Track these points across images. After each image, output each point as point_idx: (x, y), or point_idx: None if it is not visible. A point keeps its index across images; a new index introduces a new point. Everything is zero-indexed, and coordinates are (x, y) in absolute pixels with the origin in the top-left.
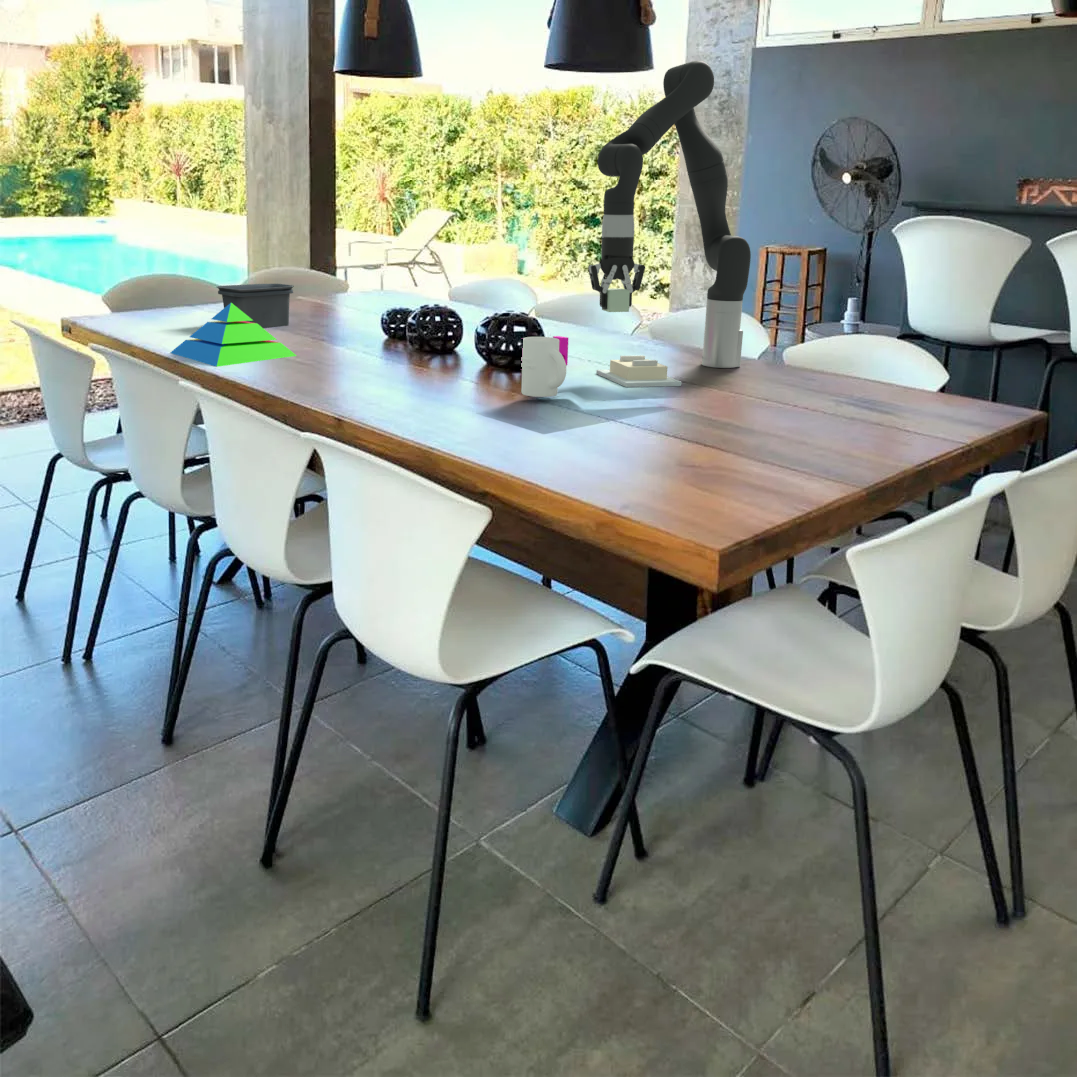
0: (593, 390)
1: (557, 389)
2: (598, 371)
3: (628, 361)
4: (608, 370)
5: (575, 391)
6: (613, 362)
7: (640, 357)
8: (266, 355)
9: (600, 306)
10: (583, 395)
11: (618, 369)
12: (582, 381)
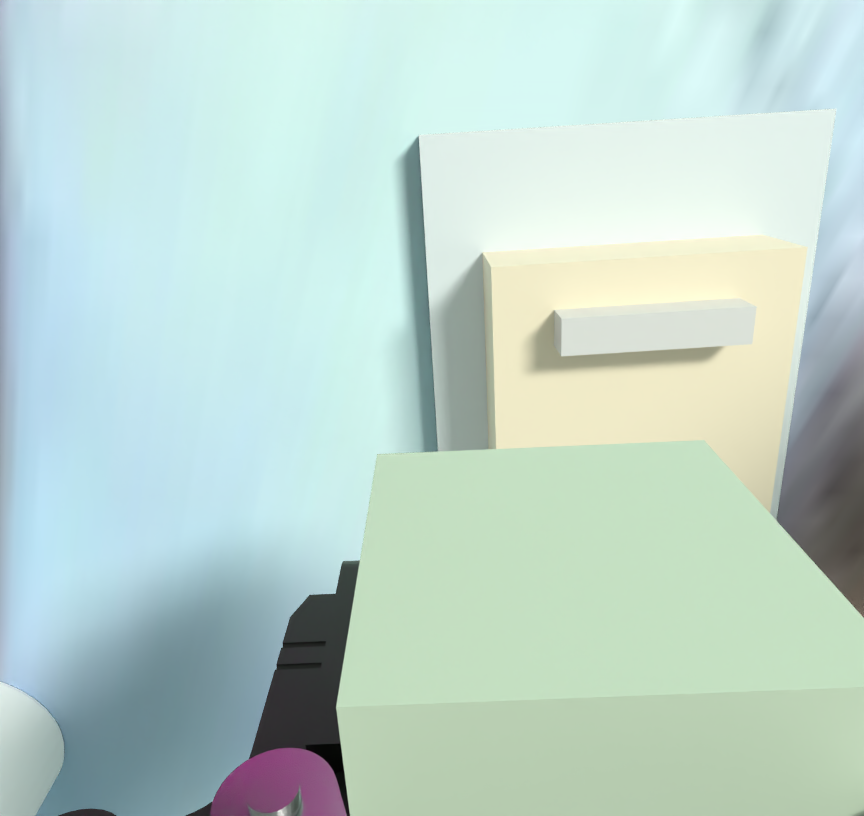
0: (255, 675)
1: (53, 779)
2: (421, 180)
3: (600, 354)
4: (497, 178)
5: (161, 693)
6: (491, 331)
7: (711, 342)
8: None
9: (308, 605)
10: (184, 773)
11: (491, 415)
12: (251, 432)
